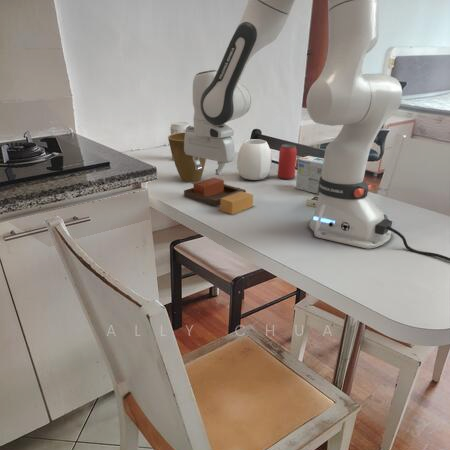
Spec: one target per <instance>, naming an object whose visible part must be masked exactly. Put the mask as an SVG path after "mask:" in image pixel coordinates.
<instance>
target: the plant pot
mask: <svg viewBox="0 0 450 450" xmlns="http://www.w3.org/2000/svg"><path fill="white" fill-rule="evenodd" d="M184 138H185V132H184V133H176V134H172V135H171V134H170V135H168V136H167V139H168V143H169V148H170V152H171V157H172V156H173V158H172V160H173V162H174V166H175V168H176V170H177V173H178V175H179V178H180V180H181V181H182V182H185V183H196V182H200V181H201V179H202V176H203V173H204V170H205V166H206V162H207V159H205V158H200V159H199V161H200V164H202V170H196V167H195V163H194V161H193V156H191V155H186V154H185V152H184Z"/></svg>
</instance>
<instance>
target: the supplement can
mask: <svg viewBox="0 0 450 450" xmlns="http://www.w3.org/2000/svg"><path fill="white" fill-rule="evenodd" d="M188 126H190V125H189V123H188V122H186V121H175V122H172V123H171V125H170V129H169V130H170V135H172V134H176V133H184V132H185V129H186V128H187V127H188ZM171 158H172V159H173V156H172V155H171Z"/></svg>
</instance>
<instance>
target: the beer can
mask: <svg viewBox="0 0 450 450" xmlns="http://www.w3.org/2000/svg"><path fill="white" fill-rule="evenodd" d="M297 155H298V150H297V145H296V144H292V143H284V144H281V145H280V149H279V153H278V166H277V167H278V169H277V177H278V178H279V179H281V180H292V179H294V178H295V177H296V168H297V167H296V166H297Z"/></svg>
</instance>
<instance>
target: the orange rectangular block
mask: <svg viewBox="0 0 450 450" xmlns="http://www.w3.org/2000/svg"><path fill="white" fill-rule="evenodd" d="M220 204H221V205H220V212H222V213H225V214H229V215H235V214H237V213H240V212H243V211H245V210H247V209H250V208H253V206H254V194H252V193H249V192H242V191H241V192H238V193H235V194H232V195H229V196H226V197H223V198H221V199H220Z"/></svg>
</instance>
